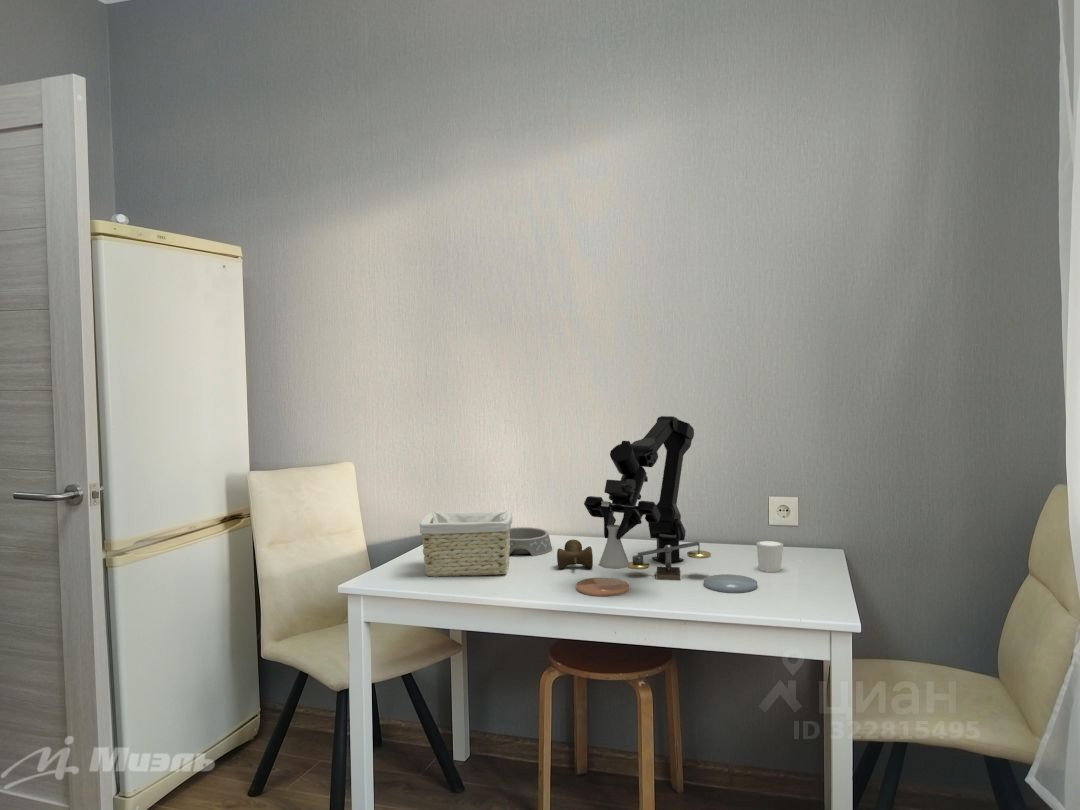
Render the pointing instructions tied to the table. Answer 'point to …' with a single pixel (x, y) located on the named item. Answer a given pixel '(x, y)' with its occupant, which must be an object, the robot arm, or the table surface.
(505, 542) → the storage basket
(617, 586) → the terracotta dish
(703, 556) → the balance
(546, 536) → the dog bowl
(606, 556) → the flask
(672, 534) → the robot arm
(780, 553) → the white cup
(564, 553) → the kendama
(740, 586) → the slate dish
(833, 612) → the table surface
